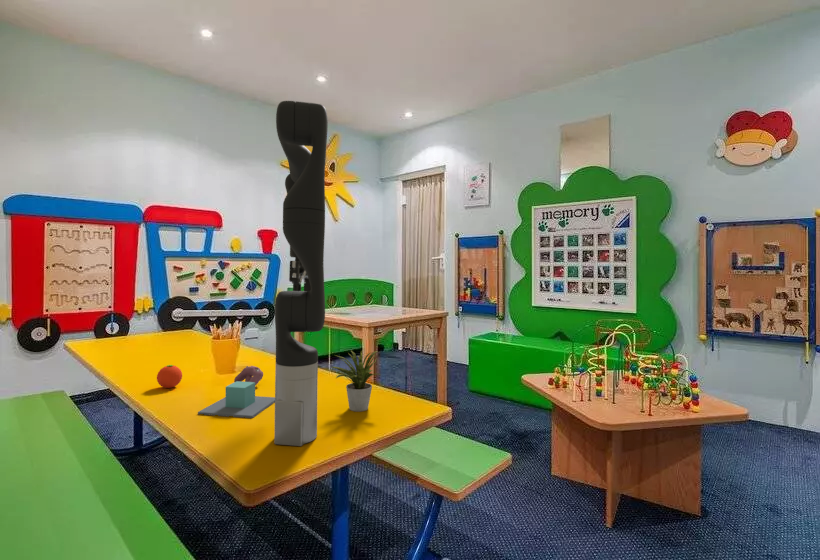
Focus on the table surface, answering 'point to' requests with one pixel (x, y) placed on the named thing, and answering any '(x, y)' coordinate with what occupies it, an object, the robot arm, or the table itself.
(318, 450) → the table surface
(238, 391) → the teal cube
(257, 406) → the slate mat
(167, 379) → the tomato
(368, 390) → the house plant
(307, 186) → the robot arm
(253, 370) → the video game controller
